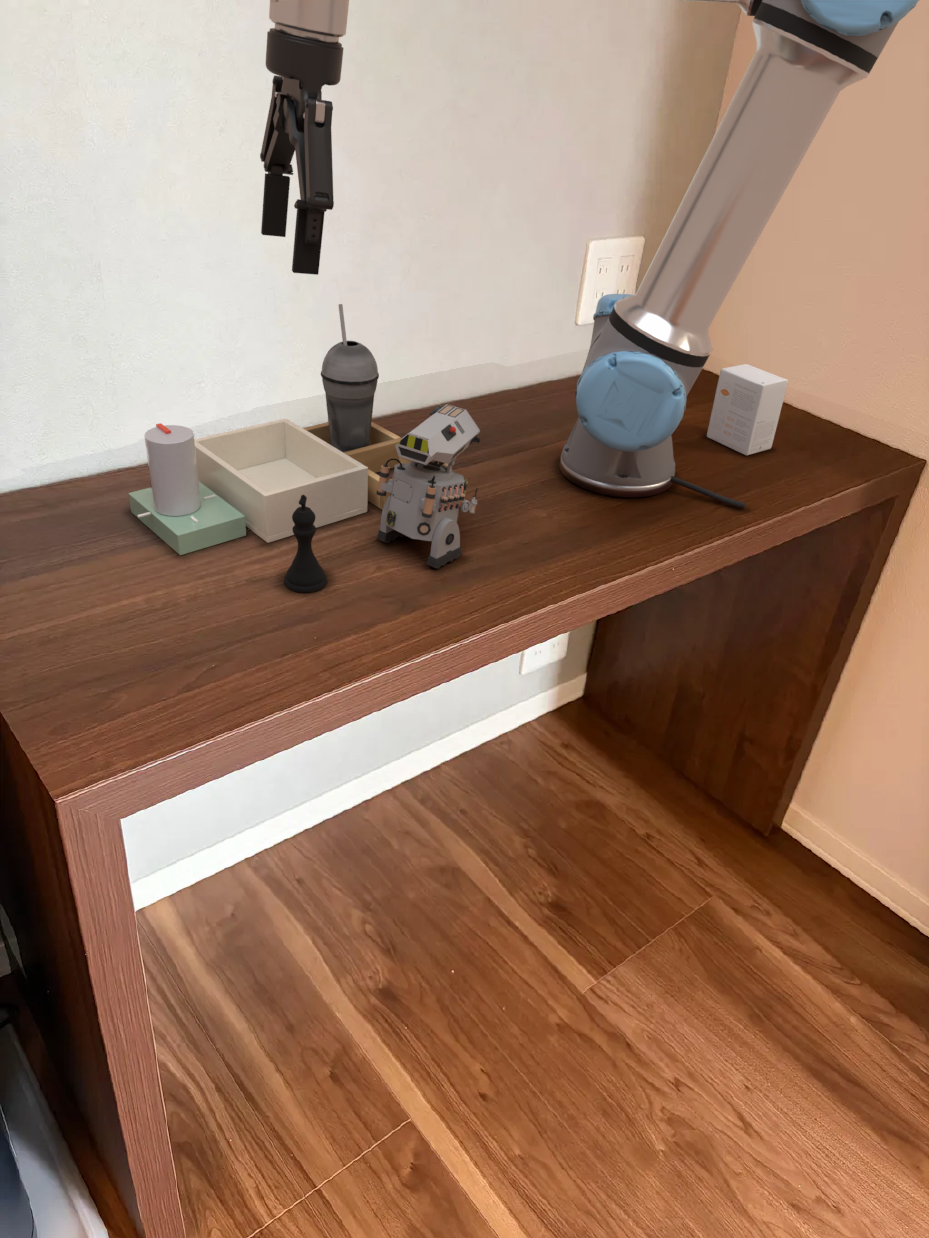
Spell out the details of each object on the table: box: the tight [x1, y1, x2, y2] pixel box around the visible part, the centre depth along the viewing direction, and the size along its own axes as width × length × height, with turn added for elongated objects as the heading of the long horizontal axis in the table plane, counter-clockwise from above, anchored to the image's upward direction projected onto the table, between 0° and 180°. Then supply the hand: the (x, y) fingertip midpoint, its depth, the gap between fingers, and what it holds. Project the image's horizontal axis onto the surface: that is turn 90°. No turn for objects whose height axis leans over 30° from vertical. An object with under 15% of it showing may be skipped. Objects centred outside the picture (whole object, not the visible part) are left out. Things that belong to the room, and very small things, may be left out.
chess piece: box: [283, 495, 328, 594], centre depth 92 cm, size 4×4×10 cm
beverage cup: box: [320, 303, 380, 453], centre depth 116 cm, size 7×7×20 cm
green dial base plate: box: [128, 481, 247, 556], centre depth 103 cm, size 12×10×3 cm
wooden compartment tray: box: [302, 421, 448, 510], centre depth 117 cm, size 20×10×4 cm, turn 41°
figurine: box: [376, 403, 481, 569], centre depth 100 cm, size 9×12×15 cm
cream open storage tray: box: [194, 417, 369, 544], centre depth 109 cm, size 18×14×6 cm
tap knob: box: [144, 422, 201, 516], centre depth 99 cm, size 5×5×9 cm
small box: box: [706, 363, 789, 456], centre depth 133 cm, size 8×6×10 cm
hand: (288, 253), depth 103 cm, fingers open, 13 cm apart
